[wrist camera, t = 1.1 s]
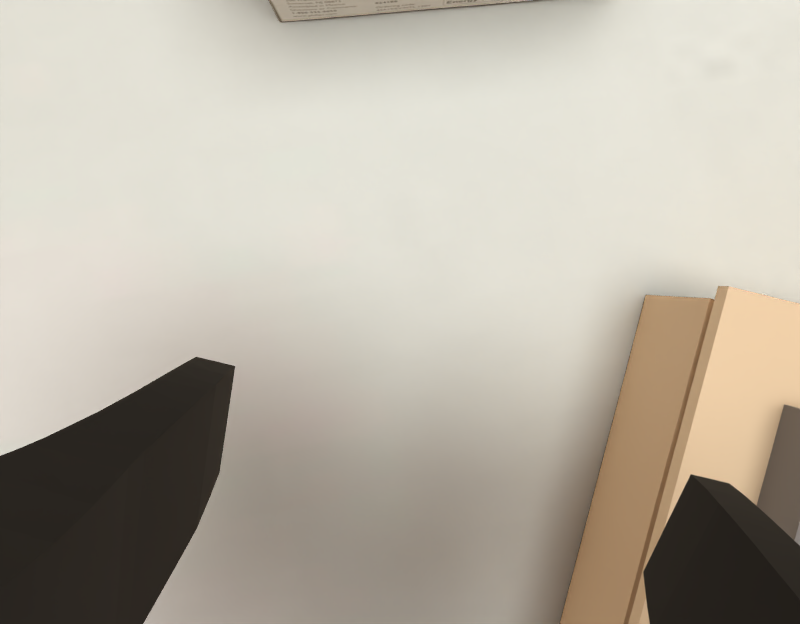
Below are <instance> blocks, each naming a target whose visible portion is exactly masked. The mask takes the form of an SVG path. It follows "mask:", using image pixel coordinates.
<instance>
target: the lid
mask: <svg viewBox="0 0 800 624" xmlns="http://www.w3.org/2000/svg"><path fill="white" fill-rule="evenodd" d="M691 474H692V475H696V476H701V477H705V478H709V479H713V480H718V481H722V482H726V483H729V484H731V485H732V486H733V487H735V488H736V489H737V490H739V491H740V492H741V493H742V494H744V495H745V496H746V497H747V498H748V499H749V500H751V501H752V502H753V503H754V504H755V505H756V506H757V507H759V508H760V509H761V510H762V511H763V512H764V513H765V514H766V515H767V516H768V517H770V518H771V519H772V520H773V521H774V522H775V523H776V524H777V525H778V526H779V527H780V528H781V529H782V530H784V531H785V532H786V533H787V534H788V535H789V536H790V537H791V538H792V539H793V540H794V541H795V542H796V543H797V544H799V545H800V304H798V303H794V302H790V301H786V300H782V299H778V298H774V297H770V296H766V295H761V294H757V293H753V292H749V291H745V290H741V289H737V288H733V287H728V286H718V289H717V293H716V296H715V300H714V304H713V308H712V311H711V315H710V319H709V323H708V326H707V330H706V334H705V338H704V341H703V345H702V349H701V353H700V356H699V360H698V364H697V368H696V371H695V375H694V379H693V383H692V386H691V390H690V394H689V398H688V401H687V405H686V409H685V413H684V417H683V420H682V424H681V428H680V432H679V435H678V439H677V443H676V447H675V450H674V454H673V458H672V462H671V465H670V469H669V473H668V477H667V480H666V484H665V488H664V492H663V495H662V499H661V503H660V507H659V510H658V514H657V518H656V522H655V525H654V529H653V533H652V537H651V540H650V544H649V548H648V552H647V555H646V559H645V563H644V567H643V571H644V569H645V567H646V565H647V563H648V561H649V559H650V557H651V555H652V553H653V551H654V549H655V547H656V545H657V542H658V540H659V538H660V536H661V534H662V532H663V530H664V528H665V526H666V524H667V522H668V520H669V518H670V516H671V514H672V512H673V510H674V508H675V506H676V503H677V501H678V499H679V497H680V495H681V493H682V491H683V489H684V487H685V485H686V483H687V481H688V479H689V477H690V475H691ZM643 571H642V574H641V578H640V582H639V586H638V589H637V593H636V597H635V601H634V604H633V608H632V612H631V616H630V619H629V623H628V624H650V622H649V616H648V609H647V601H646V593H645V584H644V575H643Z"/></svg>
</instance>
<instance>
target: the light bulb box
mask: <svg viewBox="0 0 800 624" xmlns="http://www.w3.org/2000/svg"><path fill="white" fill-rule="evenodd" d="M268 1H269V2H270V4H271V6H272V8H273V10H274V12H275V14H276V16H277V18H278V20H279V21H281V22H284V21H297V20H309V19H322V18H332V17H344V16H356V15H367V14H379V13H390V12H400V11H412V10H423V9H435V8H447V7H459V6H472V5H485V4H495V3H508V2H520V1H531V0H268Z"/></svg>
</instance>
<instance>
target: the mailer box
mask: <svg viewBox="0 0 800 624" xmlns="http://www.w3.org/2000/svg"><path fill="white" fill-rule="evenodd" d="M713 304H714V299H710V298H692V297H674V296H655V295H646V296H645V300H644V304H643V308H642V312H641V315H640V319H639V323H638V327H637V331H636V335H635V338H634V342H633V346H632V350H631V354H630V357H629V361H628V365H627V369H626V373H625V377H624V380H623V384H622V388H621V392H620V396H619V399H618V403H617V407H616V411H615V415H614V419H613V422H612V426H611V430H610V434H609V438H608V441H607V445H606V449H605V453H604V457H603V461H602V464H601V468H600V472H599V476H598V480H597V484H596V487H595V491H594V495H593V499H592V503H591V506H590V510H589V514H588V518H587V522H586V526H585V529H584V533H583V537H582V541H581V545H580V548H579V552H578V556H577V560H576V564H575V568H574V571H573V575H572V579H571V583H570V587H569V590H568V594H567V598H566V602H565V606H564V610H563V613H562V617H561V621H560V624H628V623H629V619H630V616H631V612H632V608H633V604H634V601H635V597H636V593H637V589H638V586H639V582H640V578H641V574H642V571H643V567H644V563H645V559H646V555H647V552H648V548H649V544H650V540H651V537H652V533H653V529H654V525H655V522H656V518H657V514H658V510H659V507H660V503H661V499H662V495H663V492H664V488H665V484H666V480H667V477H668V473H669V469H670V465H671V462H672V458H673V454H674V450H675V447H676V443H677V439H678V435H679V432H680V428H681V424H682V420H683V417H684V413H685V409H686V405H687V401H688V398H689V394H690V390H691V386H692V383H693V379H694V375H695V371H696V368H697V364H698V360H699V356H700V353H701V349H702V345H703V341H704V338H705V334H706V330H707V326H708V323H709V319H710V315H711V311H712V308H713Z"/></svg>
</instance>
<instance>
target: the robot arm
mask: <svg viewBox="0 0 800 624" xmlns="http://www.w3.org/2000/svg"><path fill="white" fill-rule="evenodd" d="M234 370H235V366H232V365H228V364H224V363H220V362H215V361H211V360H207V359H203V358H199V357H195V358H193V359H191V360H190V361H188V362H186V363H184V364H183V365H181V366H179V367H177V368H175V369H174V370H172V371H170V372H168V373H167V374H165V375H163V376H162V377H160V378H158V379H156V380H155V381H153V382H151V383H150V384H148V385H146V386H144V387H143V388H141V389H139V390H137V391H136V392H134V393H132V394H130V395H128V396H127V397H125V398H123V399H121V400H119V401H117V402H116V403H114V404H112V405H110V406H108V407H106V408H105V409H103V410H101V411H99V412H97V413H95V414H93V415H91V416H89V417H87V418H85V419H83V420H80V421H78V422H76V423H74V424H72V425H70V426H68V427H66V428H64V429H62V430H60V431H58V432H56V433H54V434H52V435H50V436H47V437H45V438H43V439H41V440H38V441H36V442H34V443H31V444H29V445H27V446H24V447H22V448H19V449H17V450H15V451H12V452H10V453H7V454H4V455H2V456H0V624H143V623H144V621H145V620H146V618H147V616H148V614H149V612H150V611H151V609H152V607H153V605H154V604H155V602H156V600H157V598H158V597H159V595H160V593H161V591H162V589H163V588H164V586H165V584H166V582H167V581H168V579H169V577H170V575H171V574H172V572H173V570H174V568H175V566H176V565H177V563H178V561H179V559H180V558H181V556H182V554H183V552H184V550H185V549H186V547H187V545H188V543H189V541H190V540H191V538H192V536H193V534H194V532H195V530H196V529H197V526H198V524H199V522H200V519H201V517H202V514H203V512H204V510H205V507H206V505H207V502H208V500H209V497H210V495H211V492H212V490H213V487H214V485H215V482H216V480H217V477H218V475H219V472H220V465H221V458H222V451H223V444H224V438H225V431H226V424H227V417H228V410H229V404H230V397H231V390H232V383H233V376H234ZM643 575H644V584H645V593H646V601H647V609H648V616H649V622H650V624H800V545H799V544H797V543H796V542H795V541H794V540H793V539H792V538H791V537H790V536H789V535H788V534H787V533H786V532H785V531H784V530H782V529H781V528H780V527H779V526H778V525H777V524H776V523H775V522H774V521H773V520H772V519H771V518H770V517H768V516H767V515H766V514H765V513H764V512H763V511H762V510H761V509H760V508H759V507H757V506H756V505H755V504H754V503H753V502H752V501H751V500H749V499H748V498H747V497H746V496H745V495H744V494H742V493H741V492H740V491H739V490H737V489H736V488H735V487H733V486H732V485H731V484H729V483H726V482H722V481H718V480H713V479H709V478H705V477H701V476H696V475H692V474H691V475H690V477H689V479H688V481H687V483H686V485H685V487H684V489H683V491H682V493H681V495H680V497H679V499H678V501H677V503H676V506H675V508H674V510H673V512H672V514H671V516H670V518H669V520H668V522H667V524H666V526H665V528H664V530H663V532H662V534H661V536H660V538H659V540H658V542H657V545H656V547H655V549H654V551H653V553H652V555H651V557H650V559H649V561H648V563H647V565H646V567H645V569H644V571H643Z"/></svg>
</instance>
